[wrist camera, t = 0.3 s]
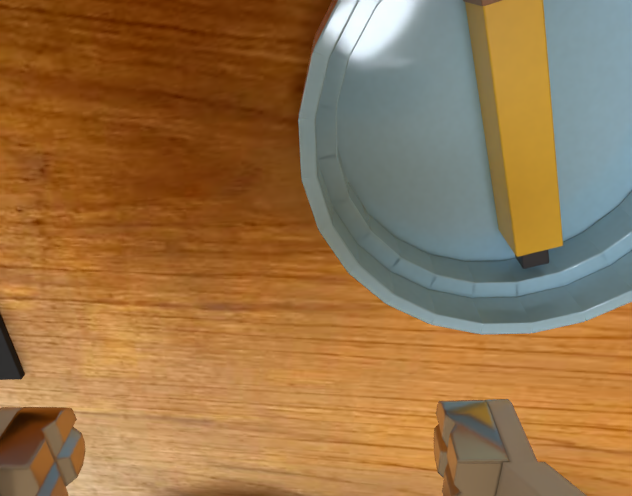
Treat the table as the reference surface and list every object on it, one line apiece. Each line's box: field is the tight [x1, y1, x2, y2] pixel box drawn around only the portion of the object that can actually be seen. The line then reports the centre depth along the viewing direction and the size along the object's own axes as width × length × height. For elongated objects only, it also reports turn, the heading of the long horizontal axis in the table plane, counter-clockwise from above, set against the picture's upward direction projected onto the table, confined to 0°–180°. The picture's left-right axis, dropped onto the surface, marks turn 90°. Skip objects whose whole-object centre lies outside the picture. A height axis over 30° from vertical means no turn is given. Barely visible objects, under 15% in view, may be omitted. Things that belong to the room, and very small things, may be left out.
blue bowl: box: [298, 0, 632, 334], centre depth 20 cm, size 17×17×4 cm
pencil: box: [463, 0, 563, 269], centre depth 21 cm, size 12×2×3 cm, turn 17°
